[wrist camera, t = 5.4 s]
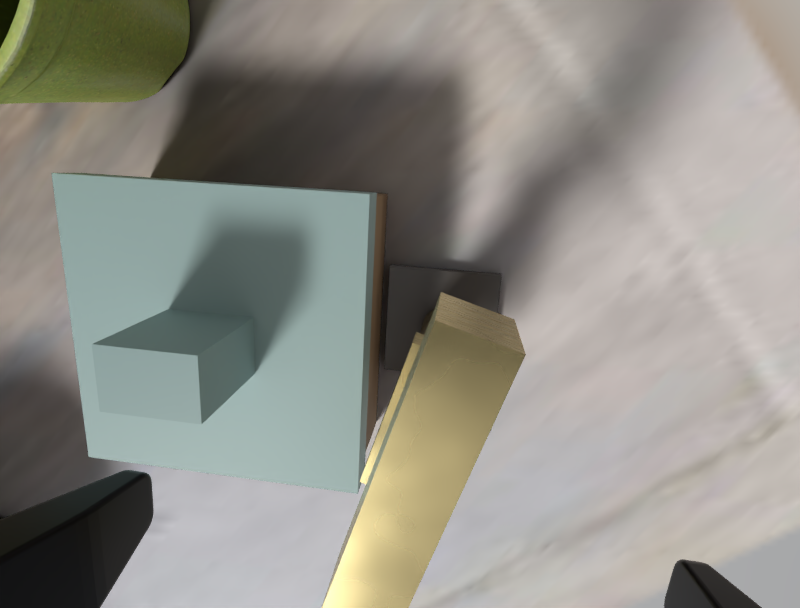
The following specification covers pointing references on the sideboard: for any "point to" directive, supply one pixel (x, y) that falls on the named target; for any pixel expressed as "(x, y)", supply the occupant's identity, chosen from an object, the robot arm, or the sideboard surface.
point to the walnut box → (413, 305)
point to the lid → (221, 324)
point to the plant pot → (89, 49)
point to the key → (425, 451)
